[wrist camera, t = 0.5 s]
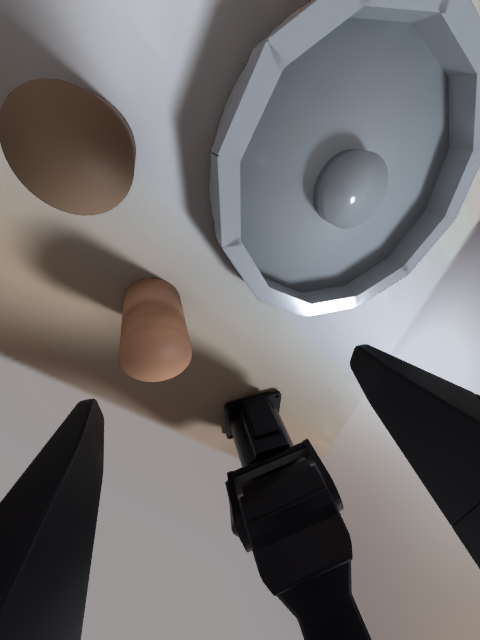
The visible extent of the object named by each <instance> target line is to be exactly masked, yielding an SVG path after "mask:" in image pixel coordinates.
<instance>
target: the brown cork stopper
mask: <svg viewBox="0 0 480 640" xmlns="http://www.w3.org/2000/svg"><path fill="white" fill-rule="evenodd" d="M191 358H192V349H191V345H190V340H189V336H188V331H187V327H186V322H185V318H184V313H183V309H182V304H181V300H180V296H179V293H178V291H177V290H176V288H175V287H174V286H173V285H171V284H170V283H168V282H166V281H164V280H161V279H156V278H148V279H143V280H140V281H138V282H136V283H134V284H133V285H131V286H130V287H129V288H128V290H127V291H126V293H125V296H124V303H123V314H122V326H121V338H120V350H119V363H120V366H121V368H122V369H123V371H124V372H125V373H126V374H128V375H129V376H130V377H132V378H134V379H137V380H140V381H145V382H159V381H164V380H168V379H171V378H173V377H175V376H177V375H178V374H180V373H181V372H182V371H184V370H185V369H186V367H187V366H188V365H189V363H190V361H191Z"/></svg>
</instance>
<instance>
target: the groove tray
mask: <svg viewBox="0 0 480 640" xmlns="http://www.w3.org/2000/svg"><path fill="white" fill-rule="evenodd" d="M211 152H212V153H210V155H211V166H210V175H209V178H210V203H211V211H212V217H213V221H214V225H215V235H216V239H217V241H218V242H219V244H220V246H221V247H222V249H223V250H224V252H225V253H226V255H227V257H228V258H229V260H230V262H231V263H232V265H233V266H234V268H235V269H236V270H237V271H238V273H239V274H240V275H241V277H242V278H243V279H244V281H245V282H246V284H247V285H248V287H249V288H250V290H251V291H252V293H253V294H254V295H255V297H256V298H257V299H258V300H259V301H262V302H265V303H268V304H270V305H273V306H276V307H279V308H282V309H285V310H287V311H290V312H293V313H296V314H299V315H302V316H304V317H308V316H314V315H319V314H324V313H329V312H334V311H340V310H345V309H350V308H355V307H357V306H358V307H359V306H360V305H362V304H363V303H365V302H366V301H368V300H369V299H371V298H373V297H374V296H376V295H377V294H379V293H380V292H382V291H384V290H385V289H387V288H388V287H390V286H391V285H393V284H395V283H396V282H398V281H399V280H401V279H402V278H404V277H405V276H407V275H408V274H410V272H411V271H412V270H413V269H414V268H415V267H416V265H417V264H418V263H419V262H420V261H421V259H422V258H423V257H424V256H425V255H426V254H427V252H428V251H429V250H430V249H431V248H432V247H433V245H434V244H435V243H436V242H437V241H438V240H439V238H440V237H441V236H442V235H443V234H444V233H445V231H446V230H447V229H448V228H449V227H450V225H451V224H452V223H453V222H454V221H455V219H456V217H457V215H458V213H459V211H460V208H461V206H462V204H463V202H464V200H465V197H466V195H467V193H468V191H469V189H470V186H471V184H472V182H473V180H474V178H475V175H476V173H477V171H478V169H479V167H480V17H479V15H478V13H477V11H476V9H475V7H474V5H473V3H472V1H471V0H311V1H310V2H309V3H307V4H306V5H304V6H303V7H301V8H300V9H298V10H297V11H295V12H294V13H292V14H291V15H289V16H288V17H287V18H286V19H285V20H284V21H283V22H282V23H281V24H280V25H279V26H278V27H276V28H275V29H274V30H273V31H272V32H271V33H270V34H269V35H268V37H267V38H265V39H264V40H263V41H262V42H260V43H259V44H258V45H257V46H255V47H254V49H253V50H252V53H251V55H250V58H249V60H248V62H247V64H246V66H245V67H244V69H243V71H242V72H241V74H240V75H239V77H238V79H237V81H236V83H235V85H234V87H233V89H232V91H231V93H230V95H229V97H228V100H227V102H226V104H225V107H224V110H223V113H222V116H221V119H220V122H219V124H218V127H217V132H216V136H215V141H214V144H213V147H212V149H211Z"/></svg>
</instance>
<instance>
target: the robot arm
mask: <svg viewBox="0 0 480 640" xmlns="http://www.w3.org/2000/svg"><path fill="white" fill-rule="evenodd" d="M350 366H351V369H352V371H353V373H354V375H355V377H356V378H357V380H358V382H359V384H360V386H361V388H362V390H363V392H364V393H365V395H366V397H367V399H368V401H369V402H370V404H371V406H372V407H373V409H374V410H375V412H376V413H377V415H378V416H379V418H380V419H381V421H382V422H383V424H384V425H385V427H386V428H387V430H388V431H389V433H390V434H391V436H392V437H393V439H394V440H395V442H396V443H397V445H398V446H399V448H400V449H401V451H402V452H403V454H404V455H405V457H406V458H407V460H408V461H409V463H410V464H411V466H412V467H413V469H414V470H415V472H416V473H417V475H418V476H419V478H420V479H421V481H422V483H423V484H424V486H425V487H426V489H427V490H428V492H429V493H430V494H431V496H432V498H433V499H434V500H435V502H436V503H437V505H438V507H439V508H440V509H441V511H442V513H443V514H444V516H445V517H446V518H447V520H448V522H449V523H450V525H452V528H453V529H454V531H455V532H456V534H457V535H458V537H459V538H460V540H461V541H462V543H463V544H464V545H465V547H466V549H467V550H468V552H469V553H470V555H471V556H472V558H473V559H474V561H475V562H476V564H477V565H478V567H479V568H480V395H477V394H474V393H473V392H471V391H468V390H466V389H464V388H462V387H460V386H457V385H455V384H453V383H451V382H449V381H446V380H444V379H442V378H440V377H437V376H435V375H433V374H431V373H429V372H426V371H424V370H422V369H420V368H418V367H416V366H413V365H411V364H409V363H407V362H405V361H402V360H400V359H398V358H396V357H394V356H391V355H389V354H387V353H385V352H383V351H380V350H378V349H376V348H374V347H372V346H369V345H366V344H364V345H359V346H356V347H355V349H354V351H353V354H352V357H351V360H350ZM280 401H281V394H280V392H279V391H274V392H270V393H266V394H262V395H258V396H254V397H250V398H246V399H242V400H238V401H234V402H230V403H227V404H225V406H224V411H225V425H226V436H227V438H228V439H232V438H234V441H235V445H236V448H237V451H238V455H239V458H240V462H241V465H242V468H240V469H238V470H235V471H230V472H228V473H227V476H228V480H227V481H226V483H225V484H226V488H227V492H228V496H229V503H230V515H231V527H232V531H233V533H234V534H235V535H236V536H238V537H239V538H240V540H241V542H242V543H243V546H244V548H245V550H246V551H247V552H250V551H253V554H254V557H255V561H256V564H257V567H258V571H259V574H260V576H261V578H262V580H263V582H264V583H265V585H266V586H267V587H268V589H269V590H270V591H271V592H272V594H273V595H274V596H277V597H278V598H279V599H280V600H281V601H282V602H283V603H284V605H285V606H286V607H287V608H288V609H289V610H290V611H291V612H292V614H293V615H294V616H295V617H296V618H297V620H298V622H299V625H300V627H301V631H302V634H303V637H304V640H371V638H370V635H369V633H368V631H367V628H366V626H365V624H364V621H363V619H362V617H361V615H360V612H359V610H358V608H357V605H356V603H355V601H354V598H353V596H352V592H351V560H352V544H351V539H350V535H349V532H348V530H347V528H346V526H345V523H344V521H343V519H342V517H341V515H340V513H339V511H341V510H343V504H342V501H341V498H340V496H339V493H338V491H337V489H336V487H335V484H334V482H333V480H332V478H331V477H330V475H329V473H328V471H327V470H326V468H325V466H324V465H323V463H322V461H321V460H320V458H319V456H318V455H317V453H316V452H315V450H314V448H313V447H312V445H311V443H310V442H309V440H308V439H306V440H303V442H301V443H299V444H297V445H293V443H292V441H291V439H290V437H289V434H288V432H287V430H286V428H285V426H284V424H283V422H282V420H281V417H280V415H279V408H280ZM103 458H104V417H103V414H102V412H101V409H100V407H99V405H98V403H97V401H96V400H95V399H88V400H84V401H80V402H79V403H78V404H77V405H76V406H75V408H74V409H73V410H72V411H71V413H70V414H69V415H68V417H67V418H66V419H65V421H64V422H63V423H62V424H61V426H60V427H59V428H58V429H57V431H56V432H55V433H54V434H53V436H52V437H51V438H50V440H49V441H48V442H47V443H46V445H45V446H44V447H43V449H42V450H41V451H40V453H39V454H38V455H37V456H36V458H35V459H34V460H33V462H32V463H31V464H30V465H29V467H28V468H27V469H26V470H25V472H24V473H23V474H22V476H21V477H20V478H19V479H18V481H17V482H16V483H15V485H14V486H13V487H12V489H11V490H10V491H9V492H8V493H7V495H6V496H5V497H4V498H3V500H2V501H1V502H0V640H81V633H82V625H83V618H84V610H85V603H86V596H87V589H88V581H89V574H90V566H91V559H92V552H93V544H94V537H95V530H96V522H97V515H98V508H99V500H100V493H101V485H102V477H103Z"/></svg>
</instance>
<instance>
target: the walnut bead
mask: <svg viewBox="0 0 480 640" xmlns="http://www.w3.org/2000/svg"><path fill="white" fill-rule="evenodd" d="M0 143H1V147H2V150H3V153H4V155H5V158H6V160H7V162H8V164H9V166H10V167H11V169H12V170H13V172H14V174H15V175H16V176H17V178H18V179H19V180H20V181H21V183H22V184H23V185H24V186H25V187H26V188H27V189H28V190H29V191H30V192H31V193H33V194H34V195H35V196H36V197H38V198H39V199H40V200H42V201H43V202H45V203H47V204H48V205H50V206H52V207H54V208H56V209H59V210H61V211H64V212H67V213H71V214H76V215H96V214H101V213H104V212H107V211H109V210H111V209H113V208H114V207H116V206H117V205H118V204H119V203H120V202H122V200H123V199H124V198H125V197H126V195H127V193H128V192H129V190H130V187H131V185H132V181H133V176H134V166H135V156H136V146H135V140H134V136H133V133H132V131H131V128H130V126H129V124H128V123H127V121H126V119H125V118H124V117H123V115H122V114H121V113H120V112H119V111H118V110H117V109H116V108H115V107H114V106H113V105H112V104H111V103H109V102H108V101H106V100H105V99H103V98H101V97H99V96H97V95H95V94H93V93H91V92H89V91H87V90H85V89H83V88H81V87H79V86H77V85H74V84H71V83H69V82H65V81H61V80H57V79H36V80H32V81H28V82H26V83H24V84H22V85H20V86H19V87H17V88H16V89H14V90H13V91H12V92H11V93H10V94H9V96H8V97H7V98H6V100H5V102H4V103H3V106H2V109H1V111H0Z"/></svg>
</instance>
